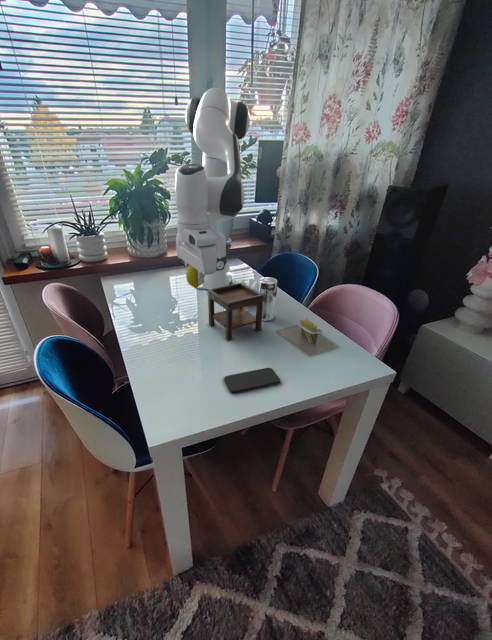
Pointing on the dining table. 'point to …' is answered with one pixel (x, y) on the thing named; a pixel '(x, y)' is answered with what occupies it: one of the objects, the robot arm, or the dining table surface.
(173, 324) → the dining table surface
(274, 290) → the beer glass
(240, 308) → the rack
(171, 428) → the dining table surface
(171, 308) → the dining table surface
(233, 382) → the phone
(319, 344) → the platform
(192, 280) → the lemon
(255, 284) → the shaker set
